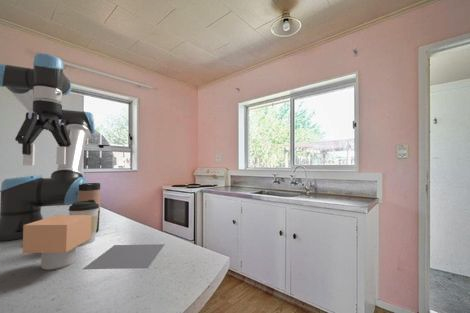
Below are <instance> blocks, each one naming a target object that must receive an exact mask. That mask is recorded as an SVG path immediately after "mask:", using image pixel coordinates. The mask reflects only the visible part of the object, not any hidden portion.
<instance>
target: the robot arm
mask: <svg viewBox="0 0 470 313" xmlns="http://www.w3.org/2000/svg"><path fill="white" fill-rule="evenodd" d="M32 65H33V68H30V67H24V66H18V65H17V66H16V65H11V64H6V63H0V87H5V88H6V89H7V90H8V91H9V92H10V93H11V94H12V95H13V96H14V97H15V98H16V99H17V100H18V102H20V103H21V104H22V105H23V107H24V108H25V109H26V110H27V111H28V112H26V113H25V119H24V121H23V123H22V124H21V127H20V129H19V131H18V132H17V135H16V136H15V138H14V140H15V142H17V144H19V145H21V144H22V146H21V149H22V150H21V151H22V152H21V153H22V157H23V158H22V165H23V166H33V167H34V166H35V163H36V162H35V160H36V159H35V158H36V144H33V143H34V142H35V140H37V138H38V137H39V136H40V135H41V133H42V132H43V131H44V130H45V131H49V132H50V134H52V136H53V138H54V140H55V142H56V143H57V146H56V158H55V159H56V160H55V161H56V162H55V164H56V165H57V169H56V170H54V171H53V172H52V173H51V175H50V177H48V178H45V177H43V175H42V174H36V175H35V174H34V175H27V176H19V177H17V176H16V177H9V178H5V179H4V180H3V181H1V186H0V188H1V189H0V241H1V242H2V241H3V242H4V241H6V242H7V241H15V240H23V225H26V224H29V223H32V222H36V221H39V220H42V219H44V218H43V215H42V211H41V210H42V207H43V208H44V207H57V206H59V207H60V206H72V204H73V203H75V202H78V193H79V184H80V185H81V184H84V183H87V182H88V181H87V179H86V177H84V174H83V173H82V172H81V170H82V164H83V158H84V155H85V154H84V152H85V149H86V148H85V147H86V141H87V139H89V138H90V137H91V135H93V134H95V120H94V115H93V113H92V112H89V111H84V110H83V111H80V110H79V111H78V110H68V109H63V105H62V104H61V103H63V96H66V95H69V93H71V92H72V88H73V86H72V83H71V81H70V79H69V78H68V77H67V76H66V75H65V73H64V68H65V67H64V63H63V60H62V59H61V58H59V57H58V56H55V55H52V54H47V53H41V52H40V53H36V54H35V55H34V59H33V63H32Z"/></svg>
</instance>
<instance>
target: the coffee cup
mask: <svg viewBox="0 0 470 313" xmlns="http://www.w3.org/2000/svg"><path fill="white" fill-rule="evenodd" d="M98 208H99V204H96V202H95V201H94V200H88V201H80V202H75V203H73V204H72V205H69V207H68V213H69V214H68V215H92V221H91V238H90V239H89V240H87V241H85V242H83V243H82V244H80V245H78V246H85V245H89V244H92V243H94V242H95V241H96V233H97V232H96V229H97V221H98ZM78 246H76V248H78Z"/></svg>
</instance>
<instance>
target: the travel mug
mask: <svg viewBox="0 0 470 313" xmlns="http://www.w3.org/2000/svg"><path fill="white" fill-rule="evenodd" d="M88 200H94V201H95V202H96V204H99V208H98V221H97V229H96V233H98V232H99V230H100V229H99V228H100V215H101V214H100V213H101V212H100V211H101V183H99V182H88V183H84V184H81V185H80V184H79V193H78V202H80V201H88Z"/></svg>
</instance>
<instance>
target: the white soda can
mask: <svg viewBox="0 0 470 313" xmlns="http://www.w3.org/2000/svg"><path fill="white" fill-rule="evenodd" d="M76 248H77V247H75V248H73V249H71V250H69V251H68V252H58V253H40V254H41V255H40V256H41V257H40V259H41V260H40V267H41V269H43V270H45V271H46V270H47V271H49V270H57V269H62V268H64V267H68V266H70V265H72V264H73V263H75V261H76V258H77V257H76V253H77V252H76V251H77V250H76Z"/></svg>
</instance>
